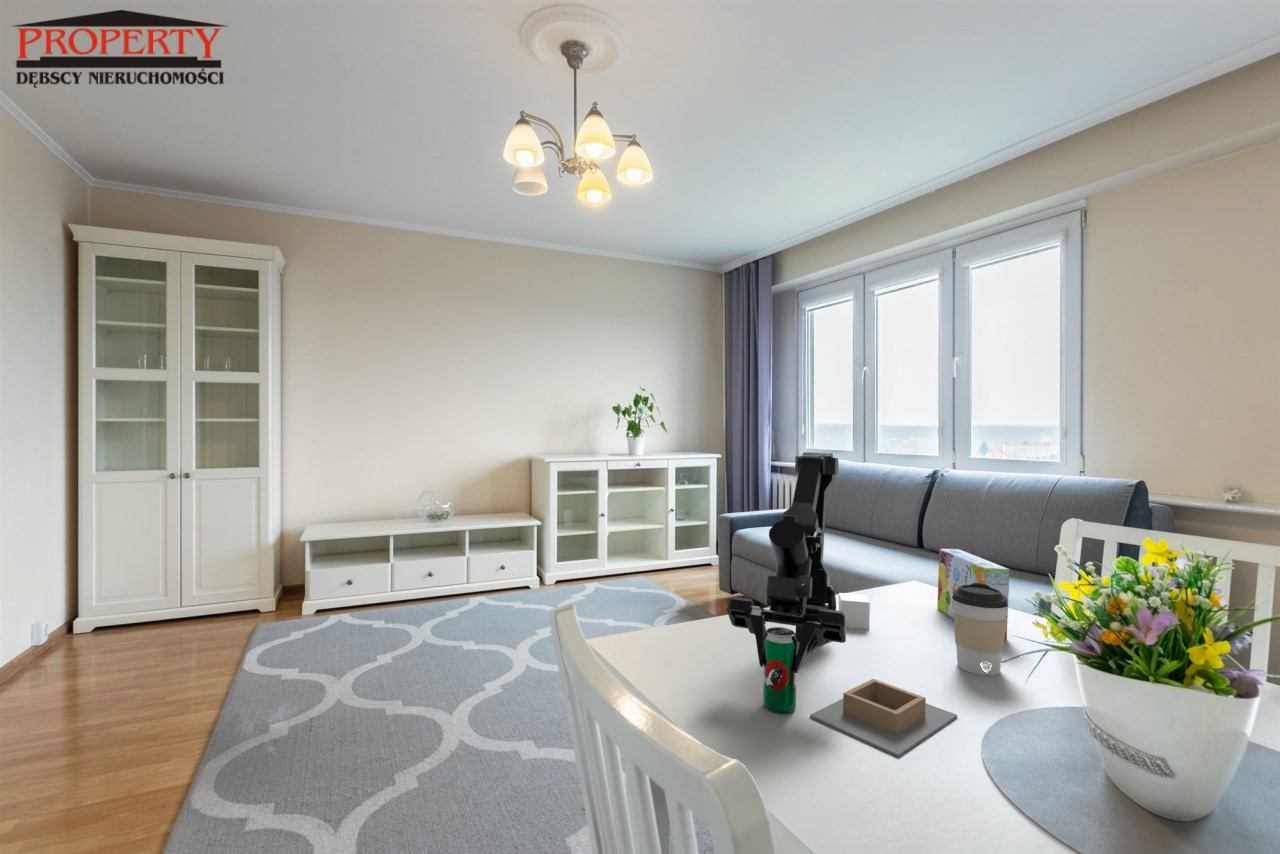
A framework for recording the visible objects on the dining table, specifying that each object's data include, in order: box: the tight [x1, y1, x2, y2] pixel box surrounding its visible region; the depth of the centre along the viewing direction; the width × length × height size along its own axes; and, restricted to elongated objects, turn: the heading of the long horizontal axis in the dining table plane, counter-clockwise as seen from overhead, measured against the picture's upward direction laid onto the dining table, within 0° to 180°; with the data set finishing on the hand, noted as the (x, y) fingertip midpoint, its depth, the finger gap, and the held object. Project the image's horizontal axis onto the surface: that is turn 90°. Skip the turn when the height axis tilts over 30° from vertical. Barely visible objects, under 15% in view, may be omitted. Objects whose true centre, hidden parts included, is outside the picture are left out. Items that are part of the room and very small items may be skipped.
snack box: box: [937, 548, 1010, 640], centre depth 138 cm, size 21×6×15 cm, turn 179°
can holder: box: [809, 678, 958, 758], centre depth 92 cm, size 18×14×3 cm
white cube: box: [838, 592, 871, 630], centre depth 136 cm, size 6×6×6 cm
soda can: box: [762, 626, 798, 714], centre depth 95 cm, size 5×5×12 cm
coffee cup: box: [952, 583, 1009, 676], centre depth 112 cm, size 9×9×15 cm
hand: (778, 668), depth 94 cm, fingers closed on soda can, 5 cm apart
